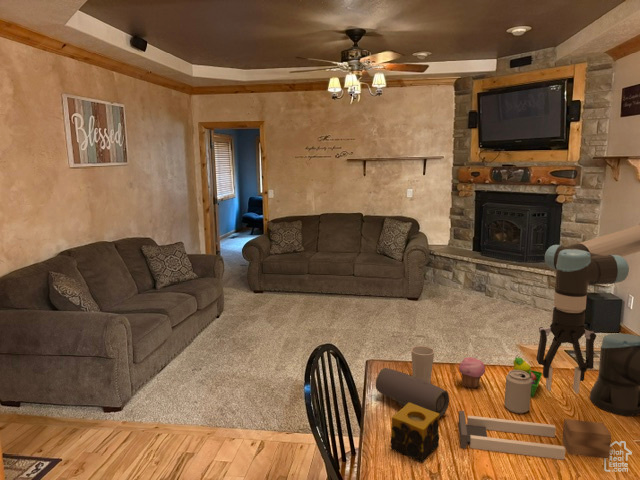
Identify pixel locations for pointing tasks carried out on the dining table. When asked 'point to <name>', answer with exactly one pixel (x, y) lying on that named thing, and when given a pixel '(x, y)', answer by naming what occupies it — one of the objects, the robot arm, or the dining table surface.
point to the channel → (514, 445)
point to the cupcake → (471, 371)
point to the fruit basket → (534, 375)
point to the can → (518, 391)
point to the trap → (468, 430)
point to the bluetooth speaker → (412, 391)
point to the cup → (422, 362)
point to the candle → (415, 432)
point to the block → (586, 438)
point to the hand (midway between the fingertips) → (561, 389)
